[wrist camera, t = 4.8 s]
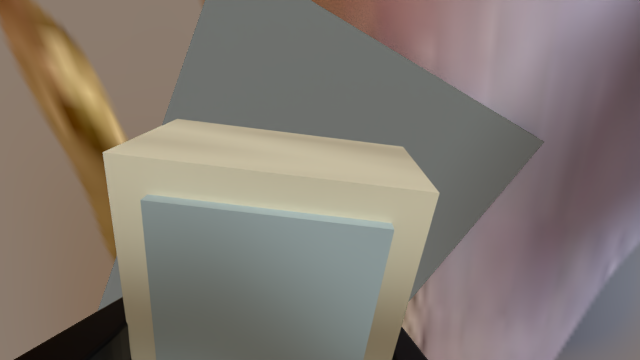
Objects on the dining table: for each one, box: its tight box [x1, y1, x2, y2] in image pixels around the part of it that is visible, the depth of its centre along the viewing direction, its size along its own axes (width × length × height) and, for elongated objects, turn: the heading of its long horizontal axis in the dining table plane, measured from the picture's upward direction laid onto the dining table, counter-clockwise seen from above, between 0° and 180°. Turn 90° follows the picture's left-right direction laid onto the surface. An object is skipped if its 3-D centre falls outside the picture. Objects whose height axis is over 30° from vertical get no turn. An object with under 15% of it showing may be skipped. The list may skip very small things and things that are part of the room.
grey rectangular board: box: [98, 0, 544, 311], centre depth 20 cm, size 18×24×1 cm
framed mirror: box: [103, 119, 440, 360], centre depth 7 cm, size 8×5×3 cm, turn 173°
